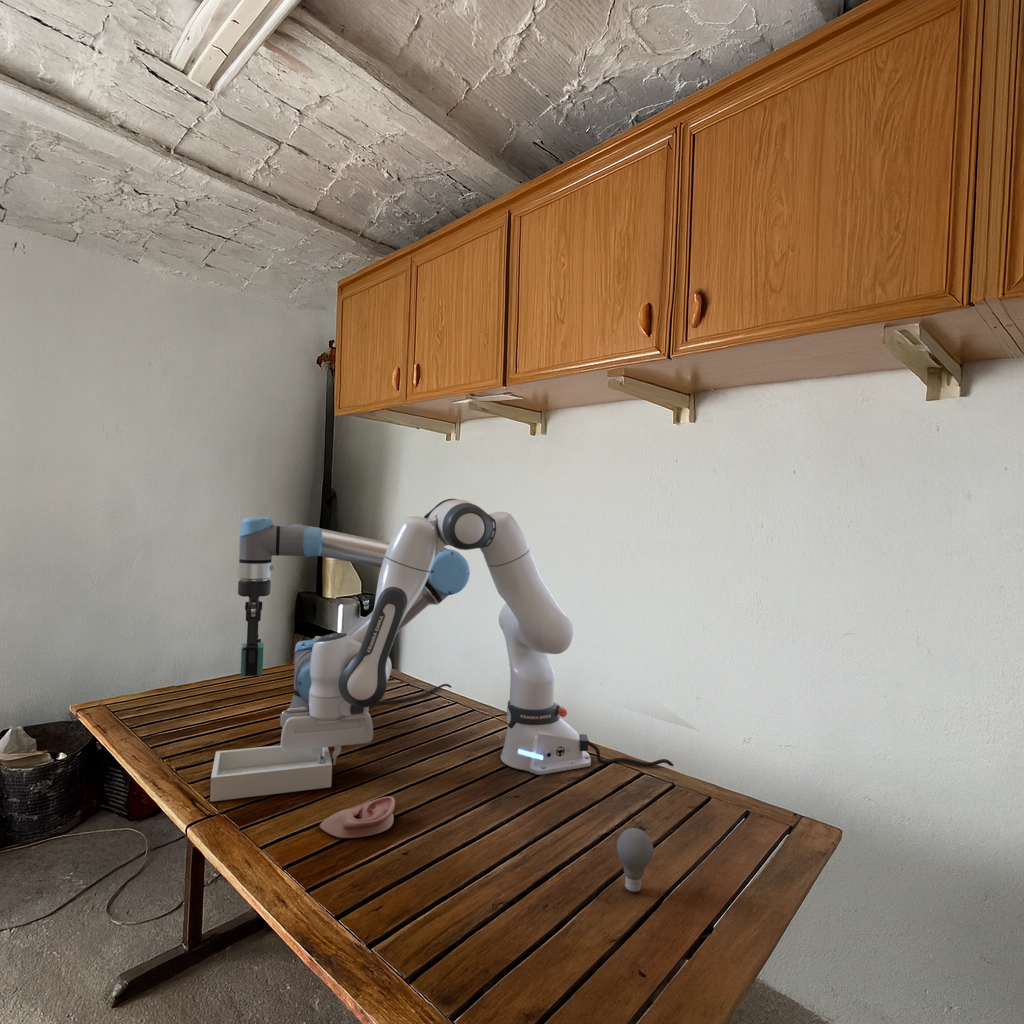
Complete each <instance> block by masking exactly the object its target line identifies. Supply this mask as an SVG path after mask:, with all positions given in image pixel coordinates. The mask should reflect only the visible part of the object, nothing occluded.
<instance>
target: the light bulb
mask: <svg viewBox="0 0 1024 1024" xmlns="http://www.w3.org/2000/svg"><path fill="white" fill-rule="evenodd" d="M616 852H617V856H618V858H619V860H620V862H621V864H622V866H623V872H624V875H625V882H624V887H625V889H627V890H628V891H630V892H633V893H634V892H635V893H636V892H639V891H641V889H642V878H643V876H644V875H645V869H646V868H647V867H648V865H649V864H650V862H651V860H652V858H653V855H654V845H653V842H652V840H651V838H650V836H649V835H648V834H647V832H645V831H644V830H642V829H640V828H636V827H629V828H627V829H625V830H624V831H623V832H622V833H620V835H619V836H618V839H617V841H616Z"/></svg>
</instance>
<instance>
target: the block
mask: <svg viewBox="0 0 1024 1024" xmlns="http://www.w3.org/2000/svg"><path fill="white" fill-rule="evenodd" d="M246 645H247V643H241V649H240V651H241V652H240V656H241V657H240V678H241V677H246V676H245V666H246V650H243V648H244V647H246ZM257 649H258V664H257V676H259V677H260V676H263V673H264V672H263V671H264V642H260V643H258V648H257ZM257 676H256V677H257Z"/></svg>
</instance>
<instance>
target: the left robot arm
mask: <svg viewBox="0 0 1024 1024" xmlns="http://www.w3.org/2000/svg"><path fill="white" fill-rule="evenodd" d="M239 529H240V530H239V548H238V549H239V551H238V553H239V554H238V574H237V577H238V579H239V580H238V581H237V594H238V596H240V597H248V601H245V602H244V610H245V621H246V622H247V625H246V626H247V629H246V644H247V645H246V647H244V648H243V650H246V666H245V676H244V677H257V664H258V649H257V648H258V643H262V639H261V638H259V622H260V621H262V620H261V619H262V610H263V601H260V597H267V596H270V594H271V591H272V590H271V589H272V588H271V587H272V581H271V580H270V578H271V577H272V571H273V570H274V569H275V567H274V565H272V558H273V556H276V557H280V556H281V557H282V556H284V557H285V556H286V557H307V558H308V557H324V558H328V559H333V560H337V561H344V562H349V563H354V564H360V565H364V566H369V567H374V568H378V569H379V568H380V569H381V566H382V562H383V559H384V556H385V554H386V551H387V549H388V546H389V544H390V541H389V542H388V541H383V540H379V539H374V538H369V537H364V536H359V535H354V534H350V533H344V532H340V531H336V530H330V529H325V528H320V527H319V526H318V527H317V526H311V525H305V524H303V523H300V522H295V523H291V524H289V525H287V526H286V525H285V526H284V525H283V526H282V525H274V520H273V518H271V517H257V516H248V517H247V516H246V517H244V518H243V519H241V521H240V528H239ZM470 575H471V570H470V565H469V563H468V561H467V559H466V558H465V557H464V556H463V555H462V554H461V553H460V552H458V551H457V550H455V549H451V548H447V547H443V548H442V549H441V550H440V551H439V552H438V554H437V556H436V557H435V559H434V562H433V565H432V568H431V571H430V574H429V577H428V579H427V581H426V583H425V585H424V587H423V589H422V591H421V593H420V595H419V596H418V598H417V599H416V601H415V602H414V604H413V605H412V606H411V608H410V609H409V611H408V612H407V614H406V615H405V617H404V618H403V620H402V622H401V624H400V626H399V628H398V631H397V633H399V632H400V631H402V629H403V628H405V627H406V626H407V625H408V624H409V623H410V622H411V621H412V620H414V619H415V618H416V617H418V615H420V613H422V612H423V611H424V610H425V609H426V608H428V606H433V605H434V606H438V605H439V604H440V603H442V602H443V601H444V600H445V599H446V598H448V596H453V595H456V594H458V593H460V592H461V591H463V590H464V589H465V588H466V586H467V584H468V582H469V581H470V580H469V579H470ZM372 614H373V611H371V612H370V613H369V614H368V615H367V616H366V617H364V618H363V619H362V620H360V621H359V622H358V623H357V624H356V625H354V627H352V628H351V629H350V630H349V631H348V632H346V634H348V635H349V636H350V637H351V638H352V639H354V640H355V641H357V642H359V643H362V642H363V639H364V636H365V634H366V631H367V628H368V626H369V623H370V620H371V618H372ZM316 641H317V640H313V639H307V640H300V641H298V642H297V643H295V648H294V649H295V650H294V672H293V673H294V674H293V675H294V676H293V695H292V696H293V697H292V699H291V702H290V704H289V707H288V708H299V707H305V706H309V690H310V687H311V677H310V662H311V654H312V648H313V645H314V643H315V642H316ZM444 687H448V688H452V685H451V684H448V683H443V684H441V685H438V686H436V687H434V688H431V689H430V690H428V691H426V692H423V693H421V694H418V695H414V696H410V697H405V698H398V699H389V700H380V701H379V702H377V703H376V704H374V705H372V706H369V708H371V707H374V706H377V705H382V704H390V703H391V704H392V703H400V702H405V701H411V700H415V699H419V698H422V697H425V696H427V695H428V694H430V693H432V692H434V691H437V690H439V689H441V688H444Z"/></svg>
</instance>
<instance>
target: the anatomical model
mask: <svg viewBox="0 0 1024 1024" xmlns="http://www.w3.org/2000/svg"><path fill="white" fill-rule="evenodd" d="M395 806H396V799H395V797H393V796H392V795H391V796H390V795H389V796H388V795H387V796H383V797H379V798H376V799H372V800H369V801H367V802H365V803H362V804H360V805H358V806H355V807H352V808H346V809H345V808H344V809H342V810H340V811H337V812H335V813H333V814H331V815H329V816H328V817H327V818H325V819H324V820H322V821H321V823H320V824H319V828H320V829H321V830H322V831H324V832H325V833H326V834H329V835H331V836H333V837H335V838H339V839H354V838H355V839H356V838H363V837H369V836H373V835H377V834H381V833H383V832H385V831H387V830H389V829H390V828H391V827H392V826H393V824H394V820H395V817H394V814H393V813H394V810H395Z"/></svg>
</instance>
